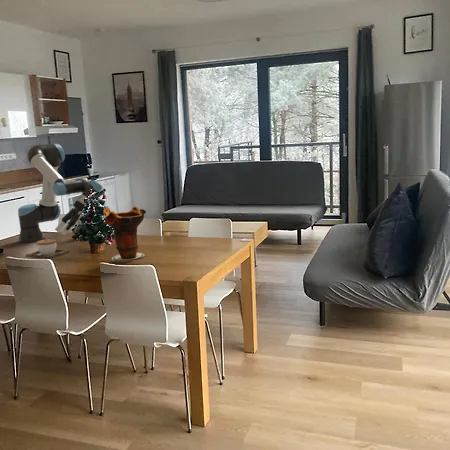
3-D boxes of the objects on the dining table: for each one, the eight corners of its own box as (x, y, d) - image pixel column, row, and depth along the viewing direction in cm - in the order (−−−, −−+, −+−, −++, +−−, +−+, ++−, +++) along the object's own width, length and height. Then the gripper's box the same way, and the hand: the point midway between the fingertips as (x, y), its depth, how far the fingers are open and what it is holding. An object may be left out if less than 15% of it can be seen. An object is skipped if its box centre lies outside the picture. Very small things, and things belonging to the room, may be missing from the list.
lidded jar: (41, 252, 290) (39, 237, 288) (59, 251, 291) (57, 235, 289) (35, 257, 280) (33, 241, 278) (55, 255, 280) (53, 239, 279)
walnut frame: (48, 249, 297) (48, 247, 296) (69, 252, 287) (69, 250, 287) (26, 256, 283) (25, 254, 283) (47, 259, 274) (47, 257, 274)
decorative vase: (158, 254, 269) (151, 204, 263) (121, 266, 254) (113, 213, 248) (137, 249, 284) (131, 201, 278) (101, 259, 270) (93, 209, 264)
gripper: (93, 209, 282) (70, 239, 277) (81, 205, 303) (59, 233, 298) (83, 201, 279) (59, 231, 274) (71, 198, 300) (49, 226, 295)
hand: (59, 232), depth 286 cm, fingers open, 13 cm apart
